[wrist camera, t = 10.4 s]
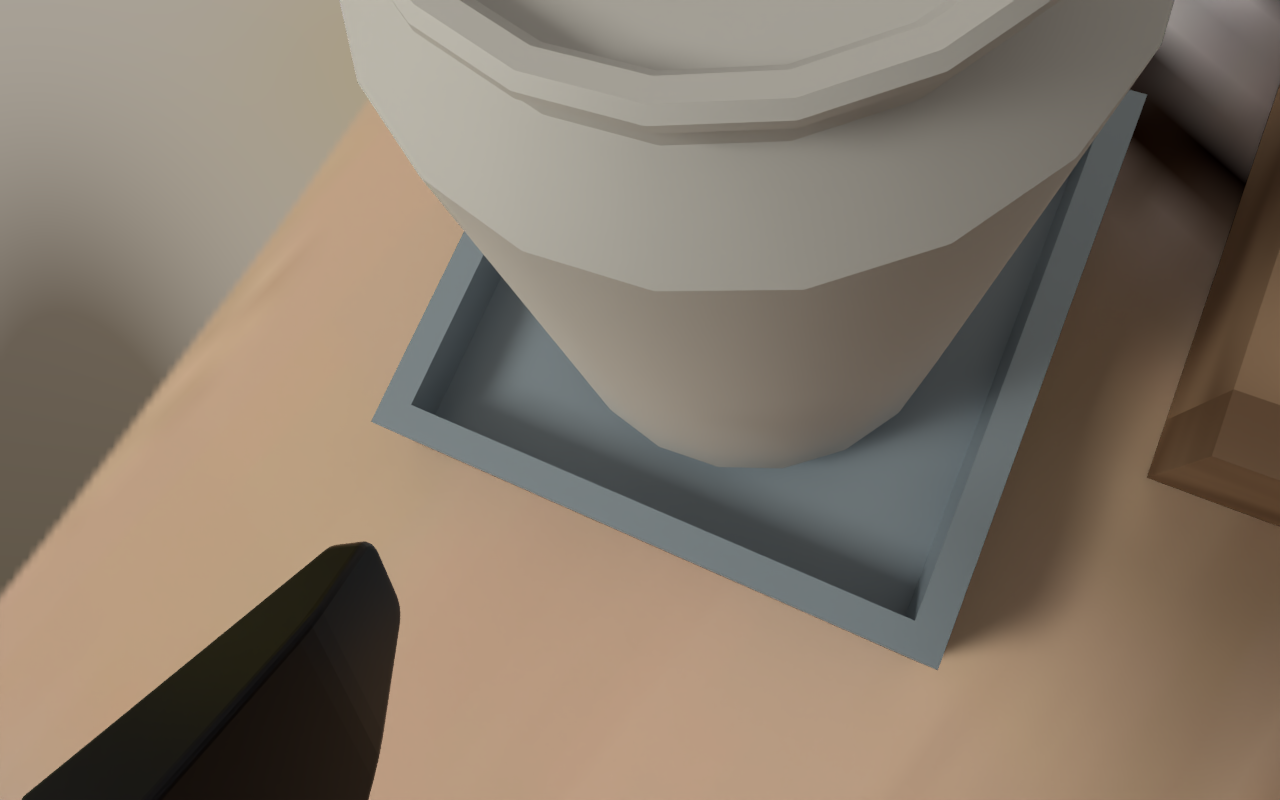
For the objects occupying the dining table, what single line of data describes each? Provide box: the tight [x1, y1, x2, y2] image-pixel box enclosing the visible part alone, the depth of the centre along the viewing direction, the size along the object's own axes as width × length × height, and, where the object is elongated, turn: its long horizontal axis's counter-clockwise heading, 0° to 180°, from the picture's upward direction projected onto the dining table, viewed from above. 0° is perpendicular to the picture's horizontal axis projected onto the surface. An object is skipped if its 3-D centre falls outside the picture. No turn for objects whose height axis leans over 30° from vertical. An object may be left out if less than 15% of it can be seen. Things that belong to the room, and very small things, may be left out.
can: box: [340, 0, 1174, 468], centre depth 12 cm, size 8×8×12 cm
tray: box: [371, 90, 1147, 670], centre depth 17 cm, size 11×11×2 cm
